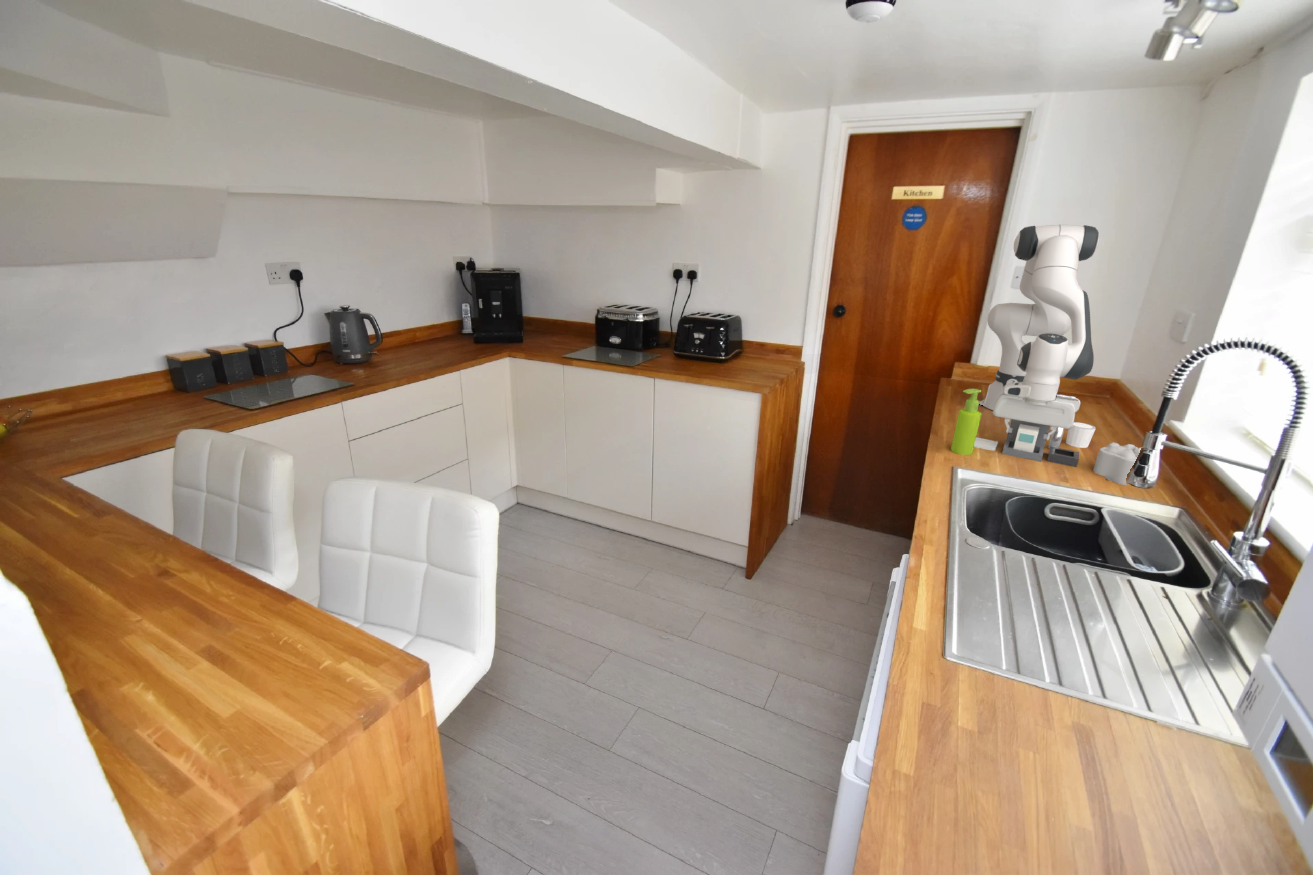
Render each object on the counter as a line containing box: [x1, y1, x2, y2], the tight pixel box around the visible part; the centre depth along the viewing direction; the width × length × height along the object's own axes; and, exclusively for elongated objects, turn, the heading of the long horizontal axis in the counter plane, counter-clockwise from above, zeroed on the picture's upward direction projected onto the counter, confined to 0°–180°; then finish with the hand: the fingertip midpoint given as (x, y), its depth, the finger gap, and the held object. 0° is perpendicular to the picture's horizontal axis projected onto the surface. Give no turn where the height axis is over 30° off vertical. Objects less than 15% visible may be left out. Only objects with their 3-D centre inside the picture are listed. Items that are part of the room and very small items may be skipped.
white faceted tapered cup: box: [1065, 421, 1097, 449], centre depth 179 cm, size 7×7×7 cm
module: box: [1013, 424, 1039, 452], centre depth 171 cm, size 5×5×8 cm
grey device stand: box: [1001, 419, 1051, 462], centre depth 171 cm, size 10×10×12 cm
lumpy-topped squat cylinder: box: [1092, 441, 1143, 486], centre depth 158 cm, size 10×13×9 cm
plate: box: [974, 436, 999, 452], centre depth 179 cm, size 8×7×1 cm
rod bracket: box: [1047, 447, 1080, 468], centre depth 167 cm, size 7×7×3 cm
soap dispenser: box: [950, 388, 982, 456], centre depth 169 cm, size 6×7×20 cm
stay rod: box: [1047, 427, 1066, 450], centre depth 176 cm, size 3×3×8 cm
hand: (1026, 436), depth 170 cm, fingers open, 8 cm apart
